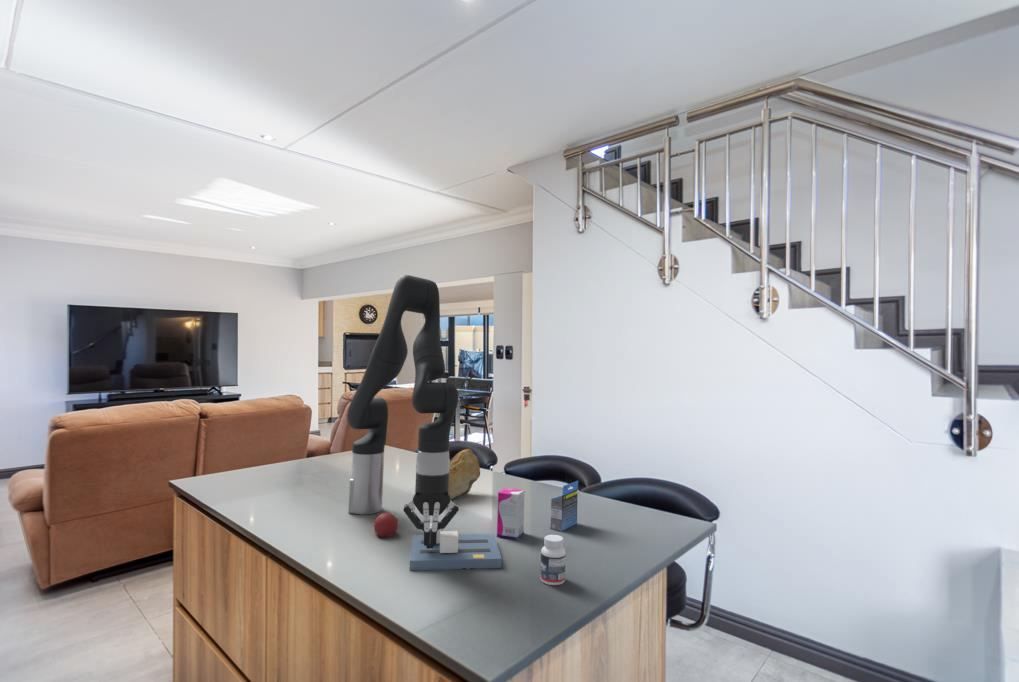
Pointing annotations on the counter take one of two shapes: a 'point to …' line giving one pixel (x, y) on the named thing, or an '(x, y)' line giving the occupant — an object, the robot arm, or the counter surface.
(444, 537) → the near tab
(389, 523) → the red bulb syringe
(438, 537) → the far tab
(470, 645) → the counter surface
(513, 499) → the supplement box
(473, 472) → the stone
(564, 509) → the label tape cartridge
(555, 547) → the pill bottle
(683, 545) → the counter surface
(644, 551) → the counter surface
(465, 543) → the switch panel
